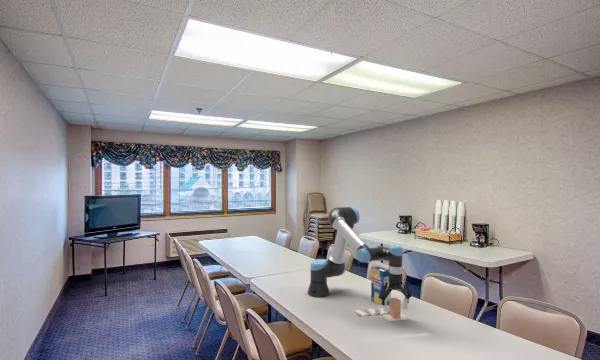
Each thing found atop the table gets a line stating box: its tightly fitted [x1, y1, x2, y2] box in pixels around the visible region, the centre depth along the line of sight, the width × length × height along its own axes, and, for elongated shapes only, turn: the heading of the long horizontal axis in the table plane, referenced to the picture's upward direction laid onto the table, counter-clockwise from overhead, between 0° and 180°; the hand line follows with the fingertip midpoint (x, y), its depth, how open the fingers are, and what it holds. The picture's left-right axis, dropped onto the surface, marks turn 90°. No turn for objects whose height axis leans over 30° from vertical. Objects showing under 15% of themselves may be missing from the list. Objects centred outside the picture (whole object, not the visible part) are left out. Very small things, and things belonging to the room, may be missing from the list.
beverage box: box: [370, 265, 392, 306], centre depth 216 cm, size 7×11×22 cm, turn 31°
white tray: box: [353, 307, 390, 318], centre depth 190 cm, size 26×18×2 cm
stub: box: [381, 297, 409, 322], centre depth 187 cm, size 12×7×11 cm, turn 103°
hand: (395, 310), depth 187 cm, fingers open, 13 cm apart
